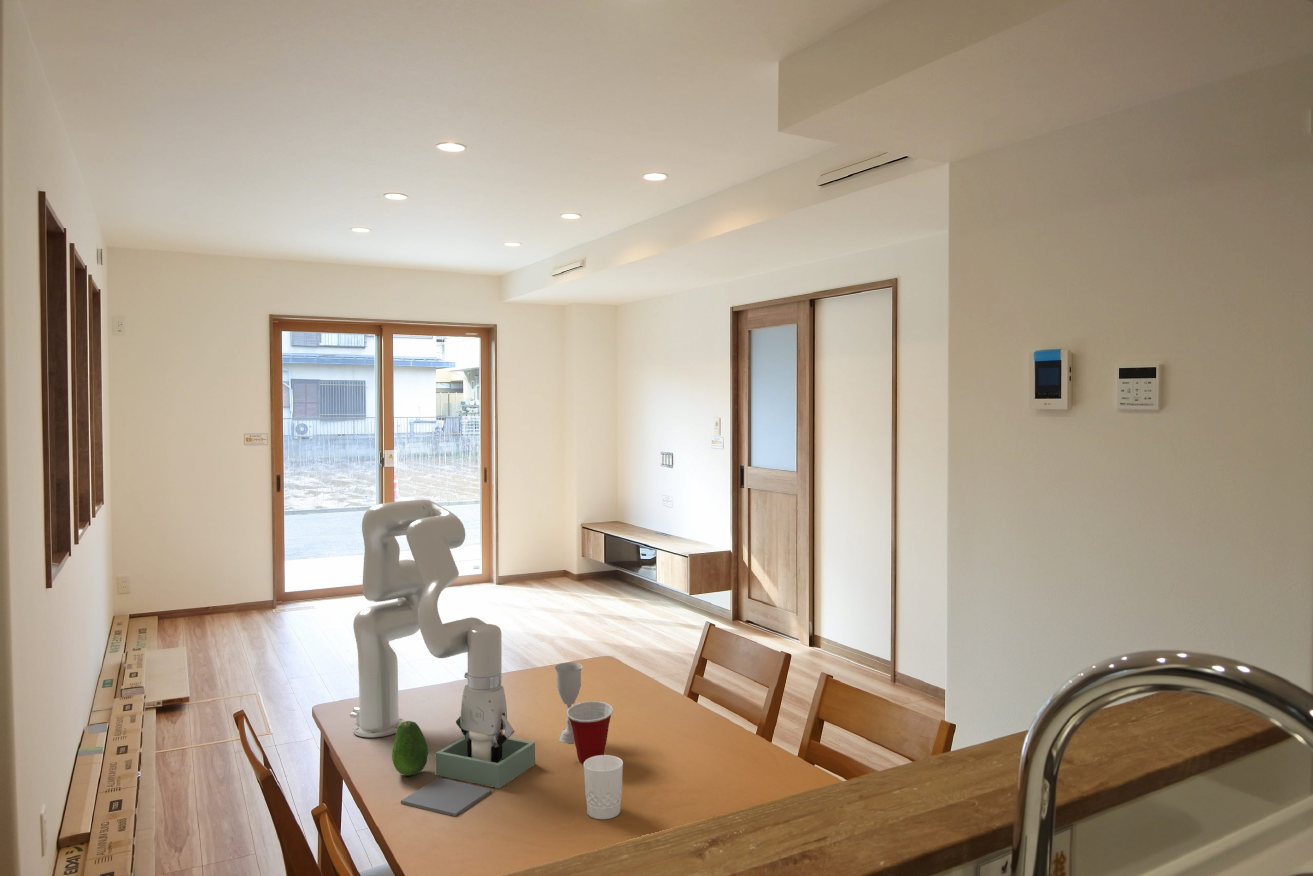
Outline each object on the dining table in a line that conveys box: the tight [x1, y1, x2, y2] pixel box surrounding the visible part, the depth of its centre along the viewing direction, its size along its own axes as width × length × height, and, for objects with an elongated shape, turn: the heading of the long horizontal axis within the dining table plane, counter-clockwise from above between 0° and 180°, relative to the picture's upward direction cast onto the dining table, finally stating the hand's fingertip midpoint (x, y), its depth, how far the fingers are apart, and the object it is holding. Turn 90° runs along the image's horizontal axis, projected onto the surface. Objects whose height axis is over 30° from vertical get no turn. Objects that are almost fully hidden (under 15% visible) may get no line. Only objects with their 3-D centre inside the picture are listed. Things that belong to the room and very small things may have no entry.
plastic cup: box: [565, 700, 614, 765], centre depth 196 cm, size 11×11×12 cm
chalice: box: [554, 661, 584, 744], centre depth 208 cm, size 7×7×18 cm
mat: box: [400, 777, 493, 818], centre depth 177 cm, size 14×12×1 cm
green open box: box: [435, 736, 536, 789], centre depth 191 cm, size 17×14×5 cm
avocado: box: [391, 720, 429, 777], centre depth 188 cm, size 8×8×12 cm
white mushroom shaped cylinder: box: [469, 731, 499, 762], centre depth 191 cm, size 7×7×9 cm
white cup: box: [583, 754, 624, 820], centre depth 170 cm, size 8×8×10 cm
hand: (484, 758), depth 191 cm, fingers closed on white mushroom shaped cylinder, 5 cm apart
